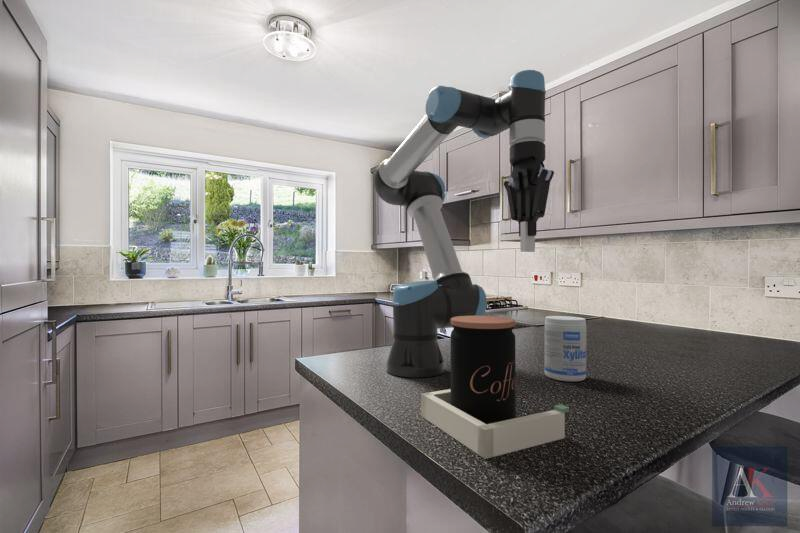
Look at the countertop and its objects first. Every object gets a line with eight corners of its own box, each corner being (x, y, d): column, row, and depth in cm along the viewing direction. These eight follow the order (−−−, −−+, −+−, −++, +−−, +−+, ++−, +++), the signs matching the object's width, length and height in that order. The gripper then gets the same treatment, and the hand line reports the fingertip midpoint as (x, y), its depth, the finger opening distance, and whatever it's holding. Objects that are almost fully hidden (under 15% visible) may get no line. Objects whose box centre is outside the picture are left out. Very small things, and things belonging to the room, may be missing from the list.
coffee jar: (469, 444, 59) (468, 324, 59) (440, 418, 69) (440, 316, 69) (529, 435, 62) (528, 321, 62) (493, 412, 72) (493, 314, 72)
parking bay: (421, 415, 70) (421, 390, 70) (493, 402, 77) (493, 379, 77) (485, 459, 54) (485, 425, 54) (569, 437, 61) (569, 407, 61)
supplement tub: (570, 385, 89) (569, 320, 90) (536, 375, 98) (535, 316, 98) (595, 379, 94) (594, 318, 95) (560, 370, 103) (560, 314, 103)
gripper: (563, 138, 82) (564, 250, 82) (519, 155, 94) (519, 253, 93) (536, 132, 79) (537, 249, 78) (494, 150, 90) (494, 252, 90)
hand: (527, 251), depth 86 cm, fingers closed
